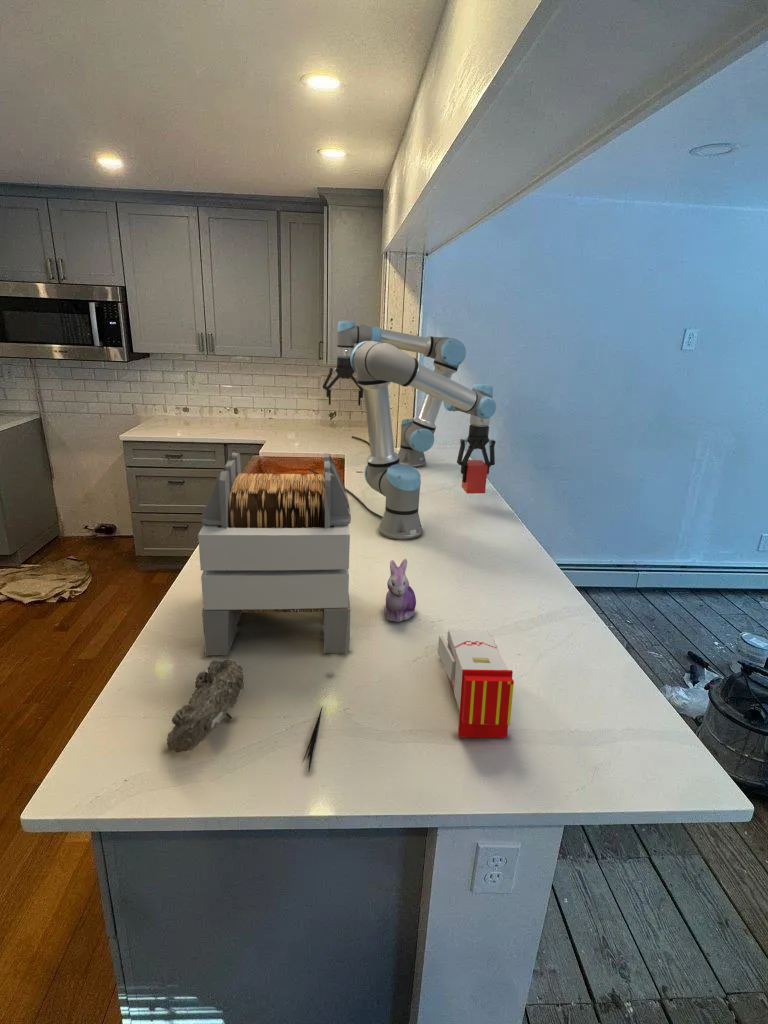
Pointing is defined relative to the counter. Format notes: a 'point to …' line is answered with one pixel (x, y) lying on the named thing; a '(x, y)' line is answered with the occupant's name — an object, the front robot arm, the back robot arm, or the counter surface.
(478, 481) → the block
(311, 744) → the feather
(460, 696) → the toy
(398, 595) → the figurine
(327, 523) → the record crate stand
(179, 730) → the grey elongated lump
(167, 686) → the counter surface
